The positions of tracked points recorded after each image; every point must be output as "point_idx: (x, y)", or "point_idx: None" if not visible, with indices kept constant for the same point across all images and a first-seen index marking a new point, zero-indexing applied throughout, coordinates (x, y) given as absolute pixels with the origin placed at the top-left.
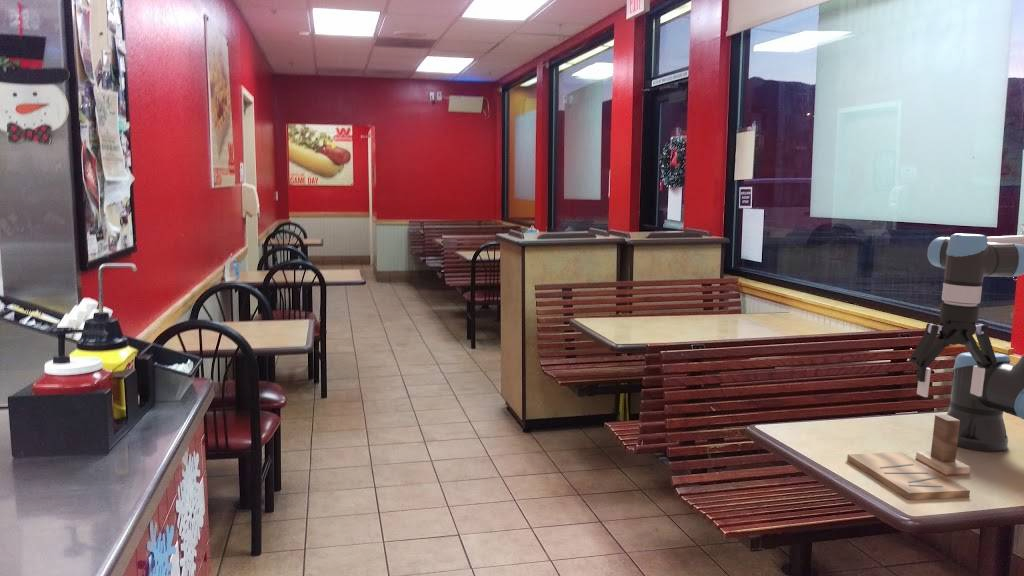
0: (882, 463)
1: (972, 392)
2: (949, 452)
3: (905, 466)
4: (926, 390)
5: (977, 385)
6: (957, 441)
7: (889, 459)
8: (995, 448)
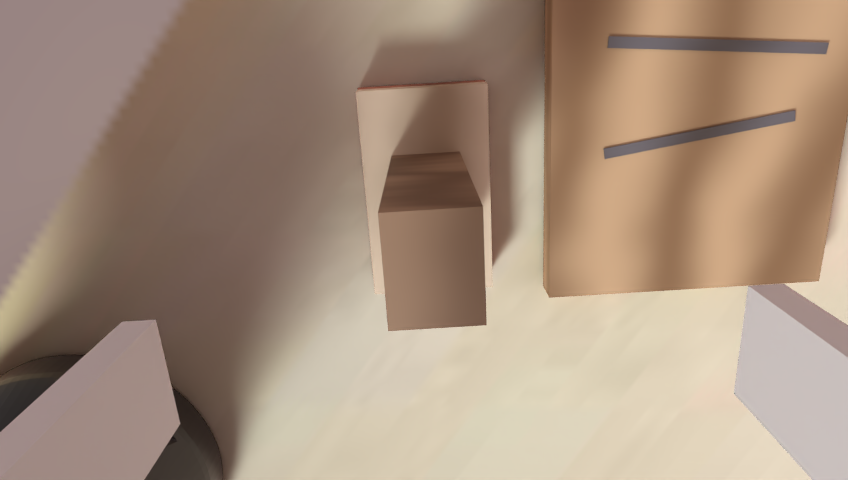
0: (740, 171)
1: (168, 406)
2: (430, 161)
3: (657, 131)
4: (818, 316)
5: (109, 415)
6: (387, 177)
7: (670, 218)
8: (54, 362)
